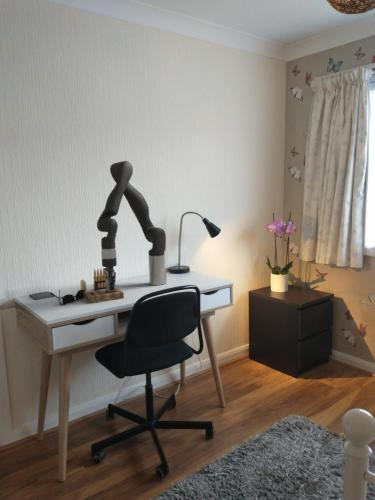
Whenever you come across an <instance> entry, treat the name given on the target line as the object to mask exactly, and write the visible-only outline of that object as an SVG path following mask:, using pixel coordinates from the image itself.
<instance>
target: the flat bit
mask: <svg viewBox="0 0 375 500" xmlns="http://www.w3.org/2000/svg"><path fill="white" fill-rule="evenodd" d="M86 283H87V282H86V280H84V279H80V290H84V292H87V284H86Z"/></svg>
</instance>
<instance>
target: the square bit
mask: <svg viewBox="0 0 375 500" xmlns="http://www.w3.org/2000/svg"><path fill="white" fill-rule="evenodd" d="M112 280H113V279H112ZM105 282H106V293H113V292H116V290H115V288H116V282H115V283H114V290H110V285H109V279H108V278H105Z"/></svg>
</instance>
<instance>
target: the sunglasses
mask: <svg viewBox="0 0 375 500" xmlns="http://www.w3.org/2000/svg"><path fill="white" fill-rule="evenodd" d="M83 292H84V290H81V289H79V290H78V291H77V292H76V294H75V296H74V295H73V294H70V293H68V294H66V295H63V297H61V290H60V289H58V295H56V294H54V293H53V292H52V291H50V292H49V294H50V295H52V296H53V297H55V298H57V299H58V302H59V304H60V305H61V306H66V305H68V304H72V303H73V304H74V303H75V302H77V301H80V300H82V299H84V295H83ZM60 299H62V300H60ZM61 301H62V302H61Z"/></svg>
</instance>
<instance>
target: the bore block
mask: <svg viewBox="0 0 375 500" xmlns="http://www.w3.org/2000/svg"><path fill="white" fill-rule="evenodd" d="M115 290H116V292H113V293H106V289H102V290H96V291H95V290H89V291H86V292H83V295H84V298H83V299H84V300H85V301H86V302H87V304H95V303H101V302H109V301H114V300H122V299H125V297H124V296H125V293H124V292H123V291H122V290H120V289H119V288H118V287H115Z"/></svg>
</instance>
